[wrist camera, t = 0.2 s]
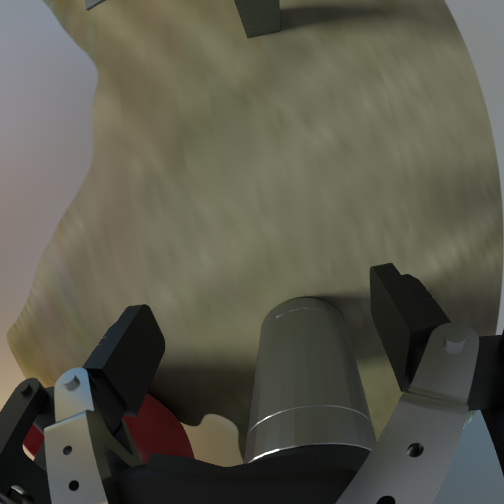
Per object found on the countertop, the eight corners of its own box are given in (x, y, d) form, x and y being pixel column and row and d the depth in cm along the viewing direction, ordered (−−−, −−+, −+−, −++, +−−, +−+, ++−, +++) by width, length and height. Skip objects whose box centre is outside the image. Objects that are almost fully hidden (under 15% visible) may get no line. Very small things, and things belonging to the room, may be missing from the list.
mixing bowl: (244, 460, 42) (232, 535, 27) (113, 449, 46) (87, 504, 32) (180, 335, 33) (129, 441, 18) (35, 344, 38) (-17, 400, 23)
